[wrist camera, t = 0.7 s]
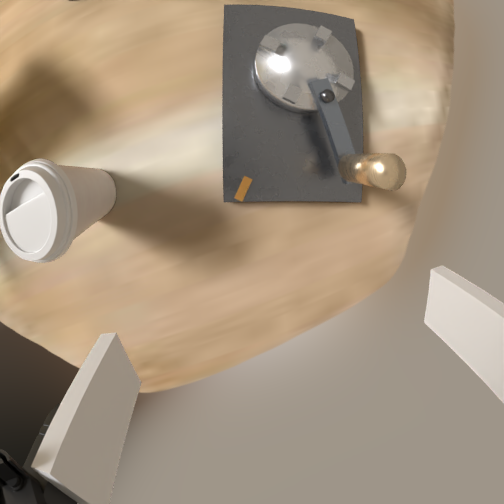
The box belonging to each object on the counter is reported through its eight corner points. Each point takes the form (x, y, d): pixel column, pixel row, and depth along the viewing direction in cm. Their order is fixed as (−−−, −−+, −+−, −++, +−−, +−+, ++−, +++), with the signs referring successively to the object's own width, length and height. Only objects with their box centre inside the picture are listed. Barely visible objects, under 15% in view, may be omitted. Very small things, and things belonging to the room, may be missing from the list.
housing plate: (224, 11, 25) (224, 4, 23) (348, 24, 26) (354, 19, 24) (223, 200, 33) (223, 202, 31) (354, 200, 35) (361, 202, 32)
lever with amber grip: (239, 44, 25) (247, -11, 14) (323, 28, 25) (363, -18, 13) (298, 193, 31) (338, 211, 20) (376, 166, 31) (440, 173, 20)
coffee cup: (130, 157, 30) (67, 157, 16) (125, 232, 33) (68, 277, 19) (69, 157, 29) (-7, 162, 15) (66, 225, 32) (-2, 262, 18)
